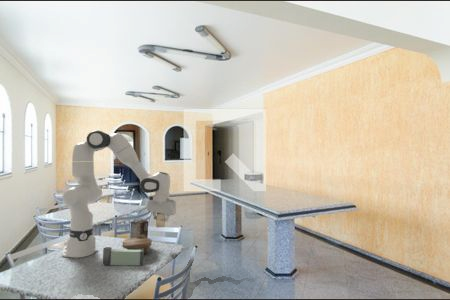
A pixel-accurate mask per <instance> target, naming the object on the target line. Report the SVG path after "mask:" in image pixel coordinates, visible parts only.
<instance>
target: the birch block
mask: <svg viewBox="0 0 450 300" xmlns="http://www.w3.org/2000/svg"><path fill="white" fill-rule="evenodd" d="M166 217H167V216H166V214H161V213H156V220H155V227H156V228H165V227H166V221H164V219H165V218H166Z"/></svg>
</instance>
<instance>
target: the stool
mask: <svg viewBox="0 0 450 300" xmlns="http://www.w3.org/2000/svg"><path fill="white" fill-rule="evenodd" d="M152 241H153V240H152V239H151V238H149V237H148V238H143V237H136V238H130V237H128V238H126V239H123V241H122V248H124V250H144V255H148V254H149V248H150V247H151V246H152V243H153V242H152Z"/></svg>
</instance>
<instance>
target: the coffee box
mask: <svg viewBox="0 0 450 300" xmlns="http://www.w3.org/2000/svg"><path fill="white" fill-rule="evenodd" d="M129 230H130V231H129V232H130V233H129V238H136V237H143V238H149V237H148V234H149V231H148V230H149V220H146V219H142V218H141V219H138V220H137V219H136V220H132V221H130V229H129Z"/></svg>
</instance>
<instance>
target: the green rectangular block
mask: <svg viewBox="0 0 450 300" xmlns="http://www.w3.org/2000/svg"><path fill="white" fill-rule="evenodd" d="M102 252H103V253H102V265H103V266H109V265H110V266H142V265H143V264H144V256H145V254H144V249H139V250H127V249H120V248H119V249H116V248H115V249H112V247H111V246H107V247H103V251H102Z"/></svg>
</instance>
